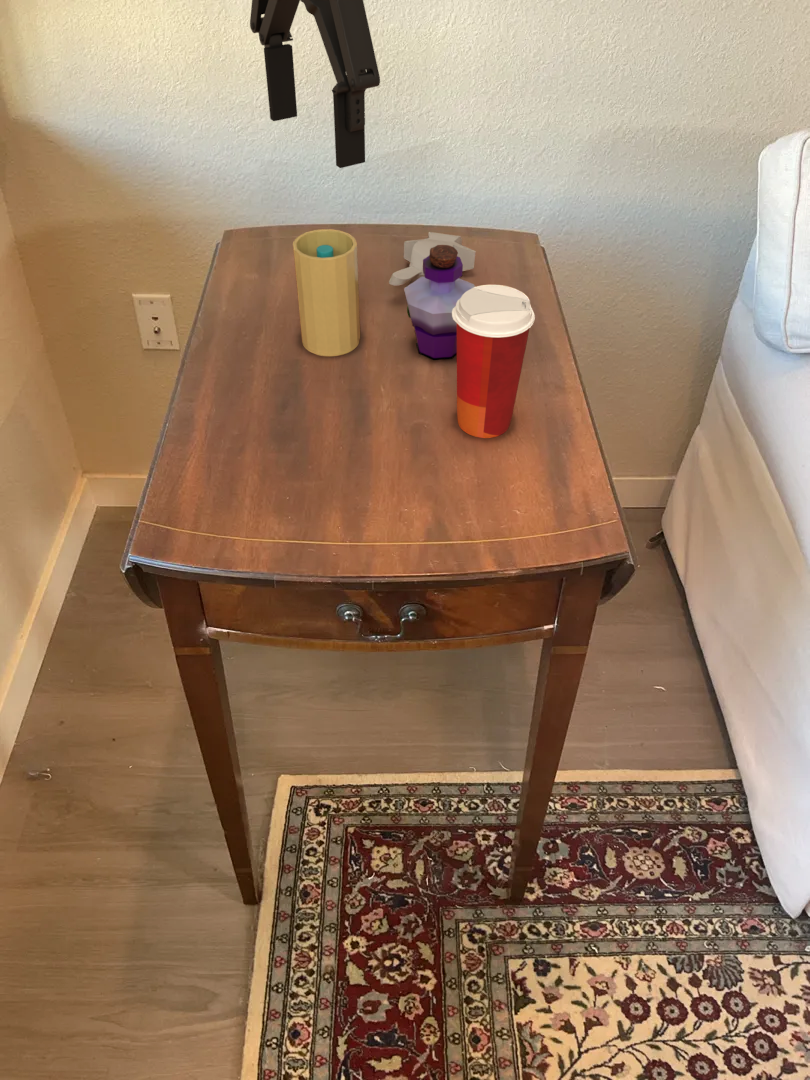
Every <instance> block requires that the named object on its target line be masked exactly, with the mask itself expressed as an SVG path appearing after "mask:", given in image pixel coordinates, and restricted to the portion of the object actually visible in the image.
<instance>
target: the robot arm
mask: <svg viewBox="0 0 810 1080" xmlns="http://www.w3.org/2000/svg"><path fill="white" fill-rule="evenodd" d="M300 2H302V3H303V4H304V7H305V10H306V12H307V13H308V14H310V15H312V17H313V18H314V20H315V23H316V26H317V29H318V32H319V34H320V37H321V41H322V44H323V47H324V49H325V52H326V56H327V58H328V61H329V64H330V66H331V70H332V72H333V76H334V78H335V82H336V84H335V85H334V86H333V87H332V89H331V92H332V99H333V100H332V101H333V102H332V103H333V122H334V123H333V124H334V125H333V126H334V127H333V128H334V146H335V147H334V149H335V166H336V167H338V168H339V169H343V168H346V167H347V168H348V167H351V166H355V165H360V164H364V163H366V131H365V129H366V128H365V126H366V105H365V103H366V102H365V99H366V97H365V93H366V90H367V89H372V88H375V87H376V88H377V87H379V86H380V84H381V77H380V72H379V67H378V62H377V58H376V54H375V49H374V43H373V39H372V34H371V30H370V26H369V21H368V16H367V13H366V8H365V2H364V0H251V8H250V16H249V28H250V30H251V32H252V33H253V34H258V39H259V43H260V45H261V46H264V47H263V55H264V66H265V75H266V77H265V78H266V86H267V98H268V106H269V108H268V109H269V118H270V120H271V121H272V122H279V121H283V120H287V119H293V118H297V117H298V109H297V94H296V93H297V92H296V81H295V80H296V79H295V78H296V77H295V66H294V53H293V51H294V50H293V45H291V44H290V43H286V42H292V41H294V38H293V36H292V33H291V28H292V26H293V23H294V20H295V16H296V13H297V10H298V8H299V4H300ZM262 15H263V16H262ZM283 43H285V44H283Z"/></svg>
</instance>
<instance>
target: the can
mask: <svg viewBox="0 0 810 1080" xmlns="http://www.w3.org/2000/svg"><path fill="white" fill-rule="evenodd" d="M321 245H329V246H331V247H333V254H334V257H326V258H320V257H317V247H319V246H321ZM292 252H293V262H294V272H295V273H294V274H295V284H296V294H297V305H298V316H299V326H300V336H301V344H302V346H303V347H304V349H305V350H306V351H308V352H309V353H310V354H311V353H312V354H314V355H317V356H321V357H340V356H343V355H346V354H348V353H349V354H350V353H351V352H352V351H354V350H355V349H357V347H358V346H359V344H360V342H361V327H360V326H361V321H360V320H361V319H360V318H361V317H360V293H359V292H360V291H359V267H358V266H359V263H358V262H359V261H358V243H357V240H356V237H354V236H353V235H351V234H350V233H348V232H345V231H343V230H339V229H330V228H322V229H321V228H320V229H314V230H313V229H312V230H309V231H307V232H303V233H302V234H300V235H299V236H297V237H296V238H295V239H294V240H293V242H292Z"/></svg>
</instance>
